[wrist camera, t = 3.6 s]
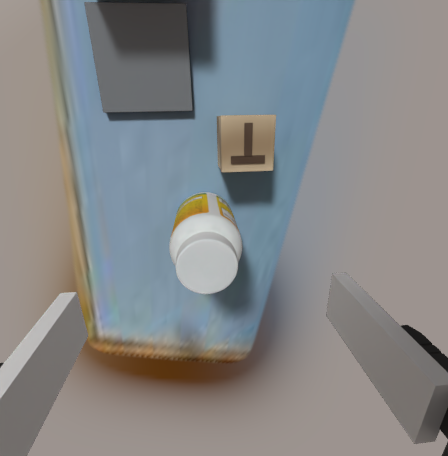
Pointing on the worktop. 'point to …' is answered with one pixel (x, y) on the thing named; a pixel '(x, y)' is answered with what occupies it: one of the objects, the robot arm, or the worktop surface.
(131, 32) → the slate coaster
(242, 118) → the letter cube
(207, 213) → the supplement bottle
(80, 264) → the worktop surface
